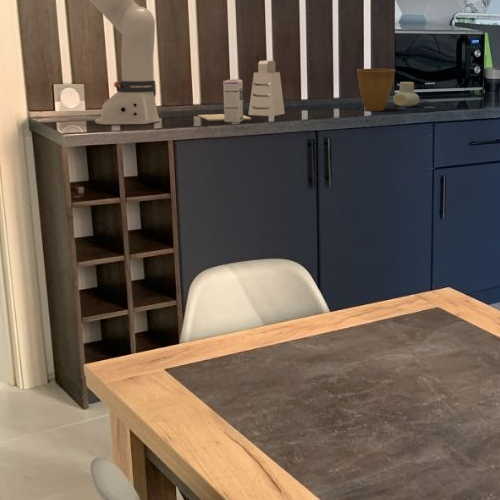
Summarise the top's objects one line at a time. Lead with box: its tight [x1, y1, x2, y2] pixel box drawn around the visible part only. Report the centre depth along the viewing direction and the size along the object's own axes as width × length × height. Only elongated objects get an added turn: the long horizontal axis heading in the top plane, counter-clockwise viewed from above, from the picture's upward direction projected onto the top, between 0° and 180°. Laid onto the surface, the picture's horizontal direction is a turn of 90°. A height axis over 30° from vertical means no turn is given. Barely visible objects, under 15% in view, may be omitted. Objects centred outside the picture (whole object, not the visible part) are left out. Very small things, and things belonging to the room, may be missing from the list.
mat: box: [197, 113, 252, 122], centre depth 306 cm, size 16×16×1 cm
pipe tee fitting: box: [392, 81, 420, 108], centre depth 349 cm, size 11×8×10 cm
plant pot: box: [356, 68, 396, 112], centre depth 332 cm, size 15×15×16 cm
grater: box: [247, 60, 286, 117], centre depth 317 cm, size 10×10×20 cm
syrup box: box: [222, 78, 244, 123], centre depth 293 cm, size 6×6×14 cm
